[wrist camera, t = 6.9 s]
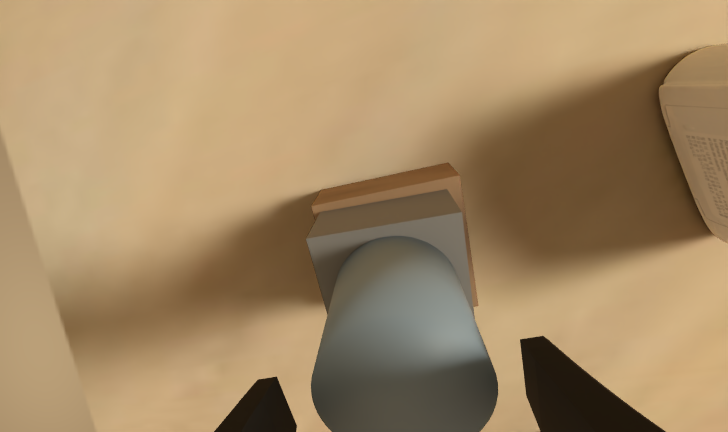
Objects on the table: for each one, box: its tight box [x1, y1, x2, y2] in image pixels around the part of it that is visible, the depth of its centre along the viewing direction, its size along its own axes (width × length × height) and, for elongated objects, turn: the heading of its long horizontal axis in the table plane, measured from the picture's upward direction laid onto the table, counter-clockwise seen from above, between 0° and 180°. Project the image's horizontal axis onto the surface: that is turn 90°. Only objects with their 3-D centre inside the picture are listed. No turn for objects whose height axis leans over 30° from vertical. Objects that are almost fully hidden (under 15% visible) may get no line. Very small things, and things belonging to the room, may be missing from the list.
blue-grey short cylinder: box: [311, 236, 498, 432], centre depth 12 cm, size 5×5×5 cm
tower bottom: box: [311, 163, 478, 307], centre depth 18 cm, size 7×7×3 cm
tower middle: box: [306, 189, 475, 319], centre depth 15 cm, size 6×6×3 cm
